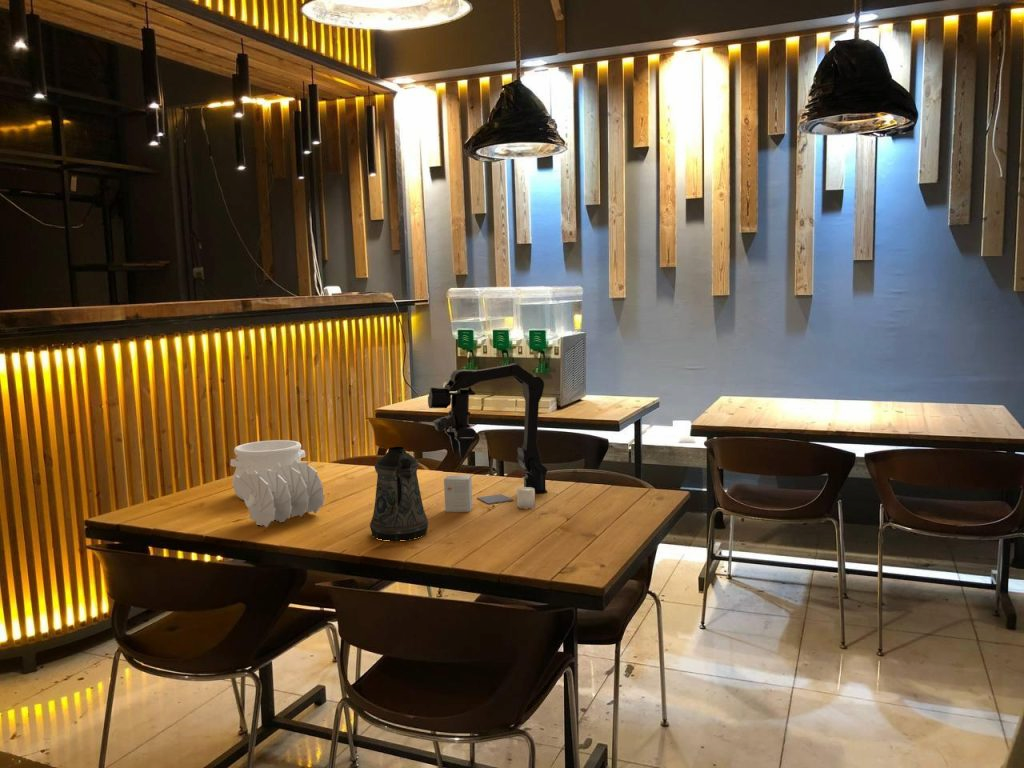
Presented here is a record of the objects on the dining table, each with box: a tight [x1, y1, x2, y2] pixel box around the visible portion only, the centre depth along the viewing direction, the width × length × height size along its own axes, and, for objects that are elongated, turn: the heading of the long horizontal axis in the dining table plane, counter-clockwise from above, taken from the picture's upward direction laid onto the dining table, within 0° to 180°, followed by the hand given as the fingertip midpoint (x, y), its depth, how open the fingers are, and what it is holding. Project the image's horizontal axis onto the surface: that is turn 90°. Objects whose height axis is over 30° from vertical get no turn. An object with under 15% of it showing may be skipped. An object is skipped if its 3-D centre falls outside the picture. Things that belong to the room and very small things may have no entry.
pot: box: [230, 439, 306, 501], centre depth 286 cm, size 26×24×18 cm
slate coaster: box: [476, 493, 514, 505], centre depth 272 cm, size 9×9×1 cm
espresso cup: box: [516, 486, 536, 510], centre depth 264 cm, size 6×8×6 cm
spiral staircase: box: [232, 460, 326, 528], centre depth 253 cm, size 18×18×25 cm
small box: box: [443, 475, 473, 513], centre depth 260 cm, size 8×6×10 cm
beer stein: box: [369, 446, 429, 541], centre depth 234 cm, size 16×19×25 cm
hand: (458, 455), depth 273 cm, fingers open, 9 cm apart
